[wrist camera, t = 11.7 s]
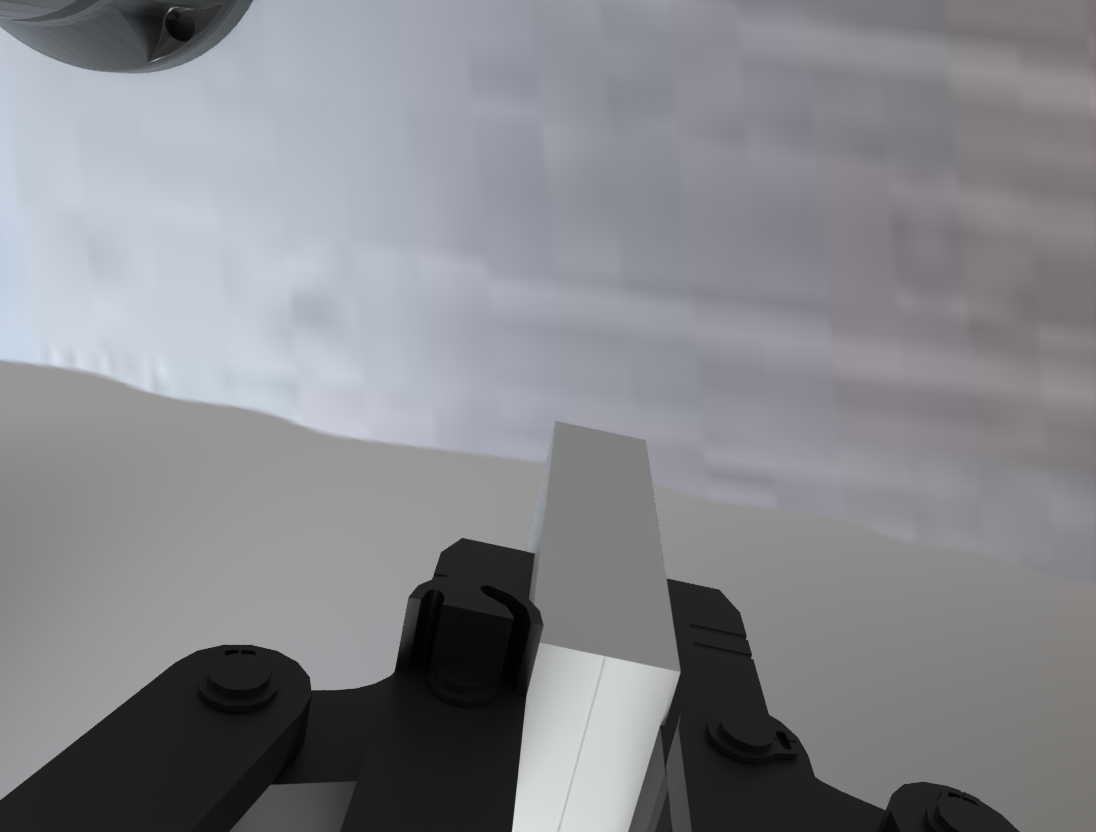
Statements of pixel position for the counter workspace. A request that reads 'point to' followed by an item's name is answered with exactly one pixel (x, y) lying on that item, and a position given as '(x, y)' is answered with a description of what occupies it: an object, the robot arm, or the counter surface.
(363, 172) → the counter surface
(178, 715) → the robot arm
